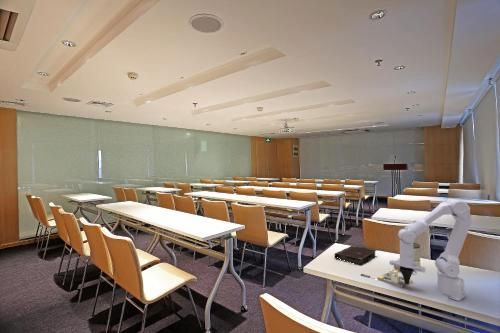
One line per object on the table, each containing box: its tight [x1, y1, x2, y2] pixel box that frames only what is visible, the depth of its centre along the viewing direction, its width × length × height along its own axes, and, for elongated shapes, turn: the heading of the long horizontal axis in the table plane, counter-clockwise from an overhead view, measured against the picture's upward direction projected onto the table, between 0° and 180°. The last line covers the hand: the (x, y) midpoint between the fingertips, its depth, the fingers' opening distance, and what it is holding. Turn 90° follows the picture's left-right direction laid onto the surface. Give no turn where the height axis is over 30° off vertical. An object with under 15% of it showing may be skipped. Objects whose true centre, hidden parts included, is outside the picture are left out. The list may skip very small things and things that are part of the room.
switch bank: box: [377, 272, 413, 289], centre depth 132 cm, size 12×11×2 cm
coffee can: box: [413, 242, 421, 272], centre depth 152 cm, size 10×10×14 cm
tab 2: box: [391, 273, 401, 284], centre depth 129 cm, size 3×3×5 cm
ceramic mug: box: [393, 257, 418, 276], centre depth 145 cm, size 11×8×8 cm
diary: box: [333, 245, 378, 267], centre depth 171 cm, size 19×25×5 cm
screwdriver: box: [360, 273, 379, 281], centre depth 136 cm, size 10×2×2 cm, turn 45°
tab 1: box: [388, 268, 399, 277], centre depth 135 cm, size 3×3×5 cm
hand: (407, 283), depth 124 cm, fingers closed
